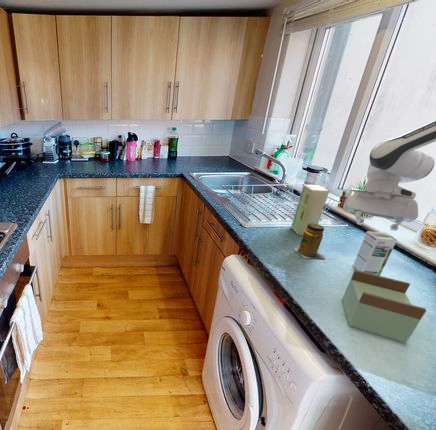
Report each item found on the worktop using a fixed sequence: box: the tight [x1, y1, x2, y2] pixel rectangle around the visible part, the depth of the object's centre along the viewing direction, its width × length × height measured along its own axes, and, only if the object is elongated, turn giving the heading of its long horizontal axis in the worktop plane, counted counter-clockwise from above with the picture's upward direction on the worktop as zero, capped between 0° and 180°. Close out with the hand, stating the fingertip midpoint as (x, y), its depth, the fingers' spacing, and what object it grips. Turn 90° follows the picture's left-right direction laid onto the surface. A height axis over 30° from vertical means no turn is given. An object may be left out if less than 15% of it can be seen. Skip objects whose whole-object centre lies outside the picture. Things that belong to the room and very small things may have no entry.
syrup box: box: [352, 230, 397, 276], centre depth 99 cm, size 6×6×14 cm
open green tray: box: [341, 269, 427, 344], centre depth 78 cm, size 12×12×11 cm
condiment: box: [293, 223, 326, 259], centre depth 109 cm, size 7×8×12 cm
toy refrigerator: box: [290, 184, 330, 236], centre depth 124 cm, size 8×7×21 cm
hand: (376, 226), depth 102 cm, fingers open, 8 cm apart
